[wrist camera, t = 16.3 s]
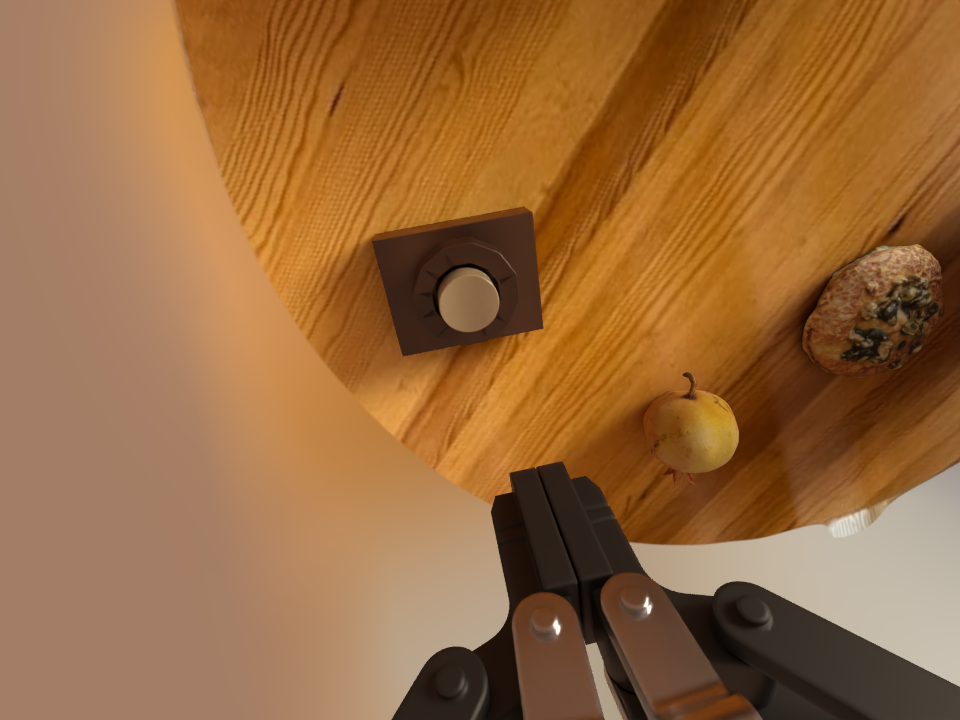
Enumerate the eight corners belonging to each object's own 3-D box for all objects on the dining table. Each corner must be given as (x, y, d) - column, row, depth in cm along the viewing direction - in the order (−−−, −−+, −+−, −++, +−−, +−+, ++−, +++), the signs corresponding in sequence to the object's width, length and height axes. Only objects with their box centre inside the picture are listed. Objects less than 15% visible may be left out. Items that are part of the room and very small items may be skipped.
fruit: (667, 398, 31) (647, 506, 35) (773, 402, 30) (739, 512, 35) (645, 356, 37) (631, 452, 42) (733, 358, 36) (709, 456, 41)
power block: (403, 343, 33) (402, 369, 29) (374, 234, 29) (369, 248, 25) (535, 317, 33) (550, 339, 30) (524, 206, 29) (539, 216, 26)
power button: (443, 326, 29) (445, 337, 27) (432, 272, 27) (433, 281, 25) (498, 316, 29) (503, 326, 27) (490, 261, 27) (495, 269, 26)
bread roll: (899, 363, 40) (953, 391, 35) (772, 369, 40) (809, 397, 35) (948, 236, 35) (1017, 249, 30) (804, 244, 35) (851, 257, 31)
